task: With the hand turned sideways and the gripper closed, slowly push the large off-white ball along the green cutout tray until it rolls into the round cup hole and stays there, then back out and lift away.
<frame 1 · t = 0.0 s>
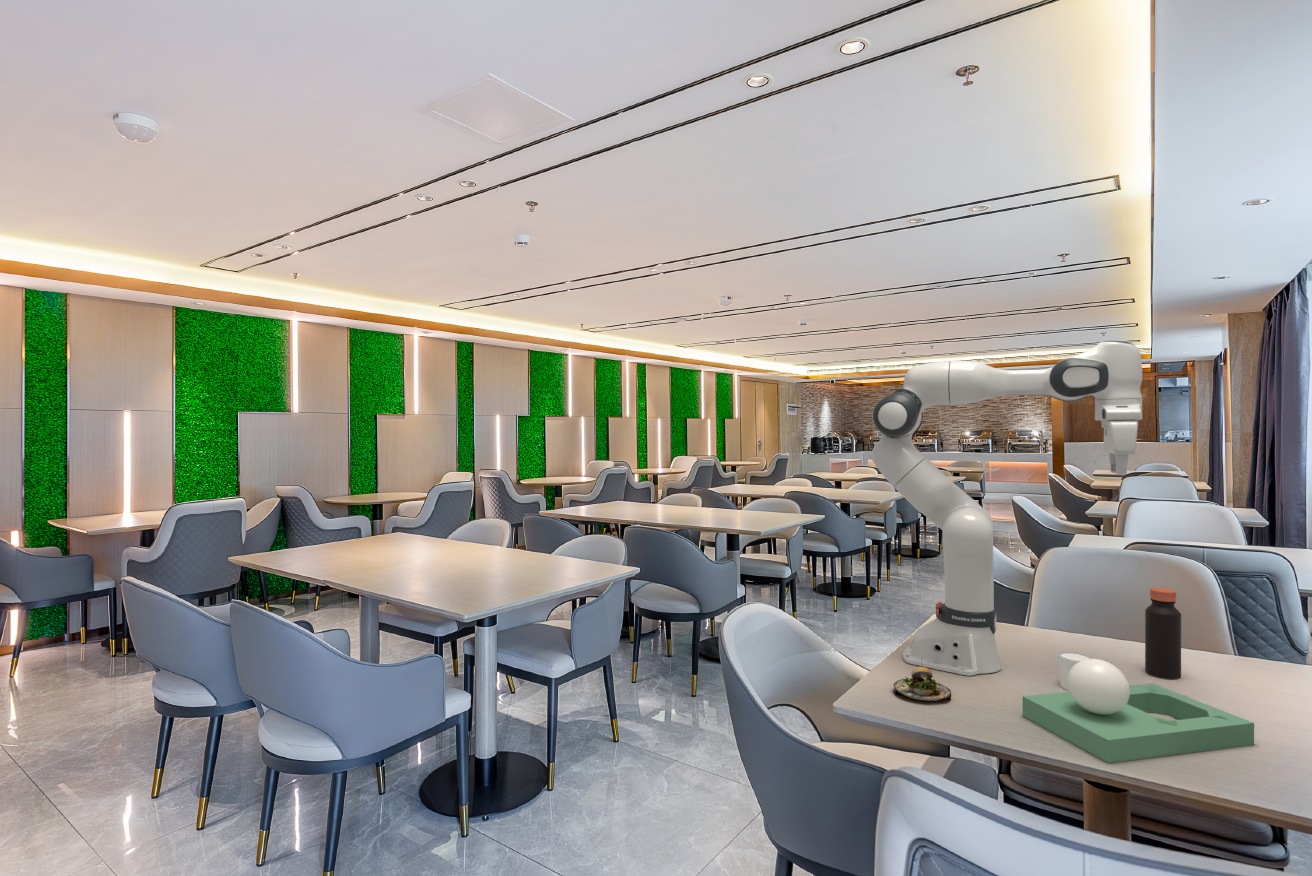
hand: (1118, 473, 152), 48 cm above the table, tool pointing down, fingers open, 8 cm apart
green cutout tray: (1132, 729, 130), on the table
bottle: (1162, 675, 159), on the table
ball: (1097, 686, 128), point 9 cm above the table, touching green cutout tray
burger: (922, 696, 147), on the table
white cup: (1075, 688, 151), on the table
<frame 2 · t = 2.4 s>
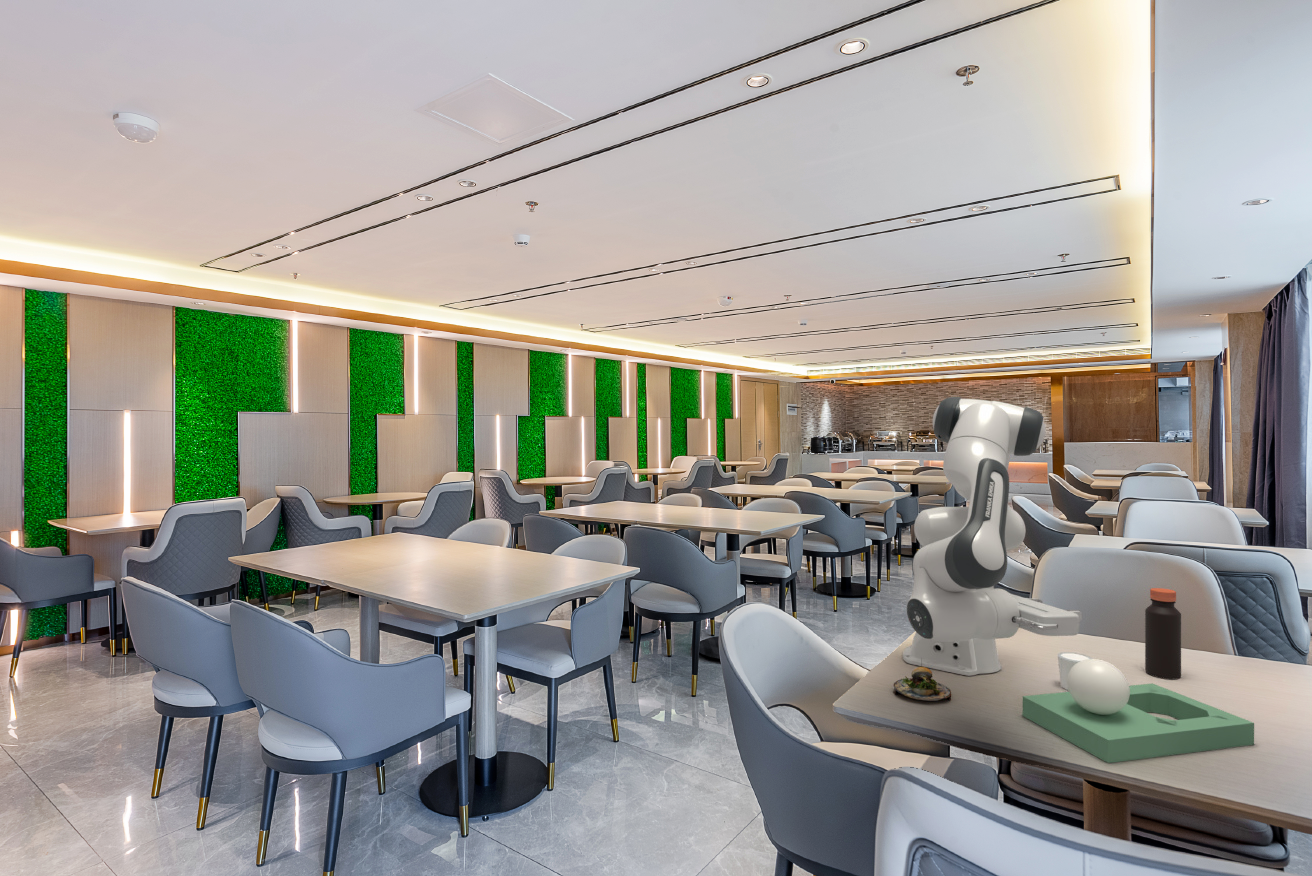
hand: (1058, 609, 126), 24 cm above the table, tool horizontal, fingers open, 8 cm apart
nothing on the table moved.
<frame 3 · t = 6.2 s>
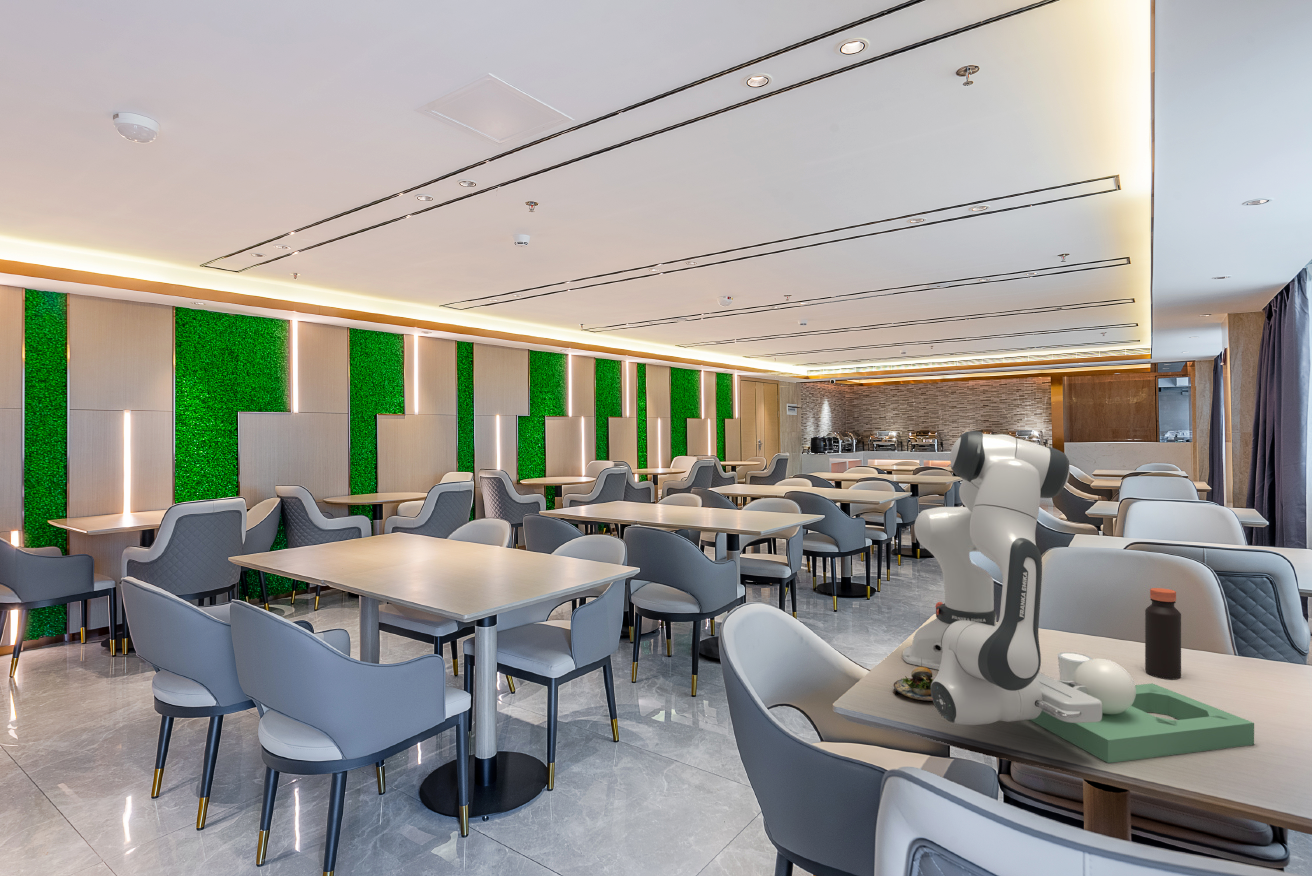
hand: (1080, 688, 127), 9 cm above the table, tool horizontal, fingers closed
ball: (1103, 686, 128), point 9 cm above the table, tilted 15°, touching green cutout tray
everything else where it was.
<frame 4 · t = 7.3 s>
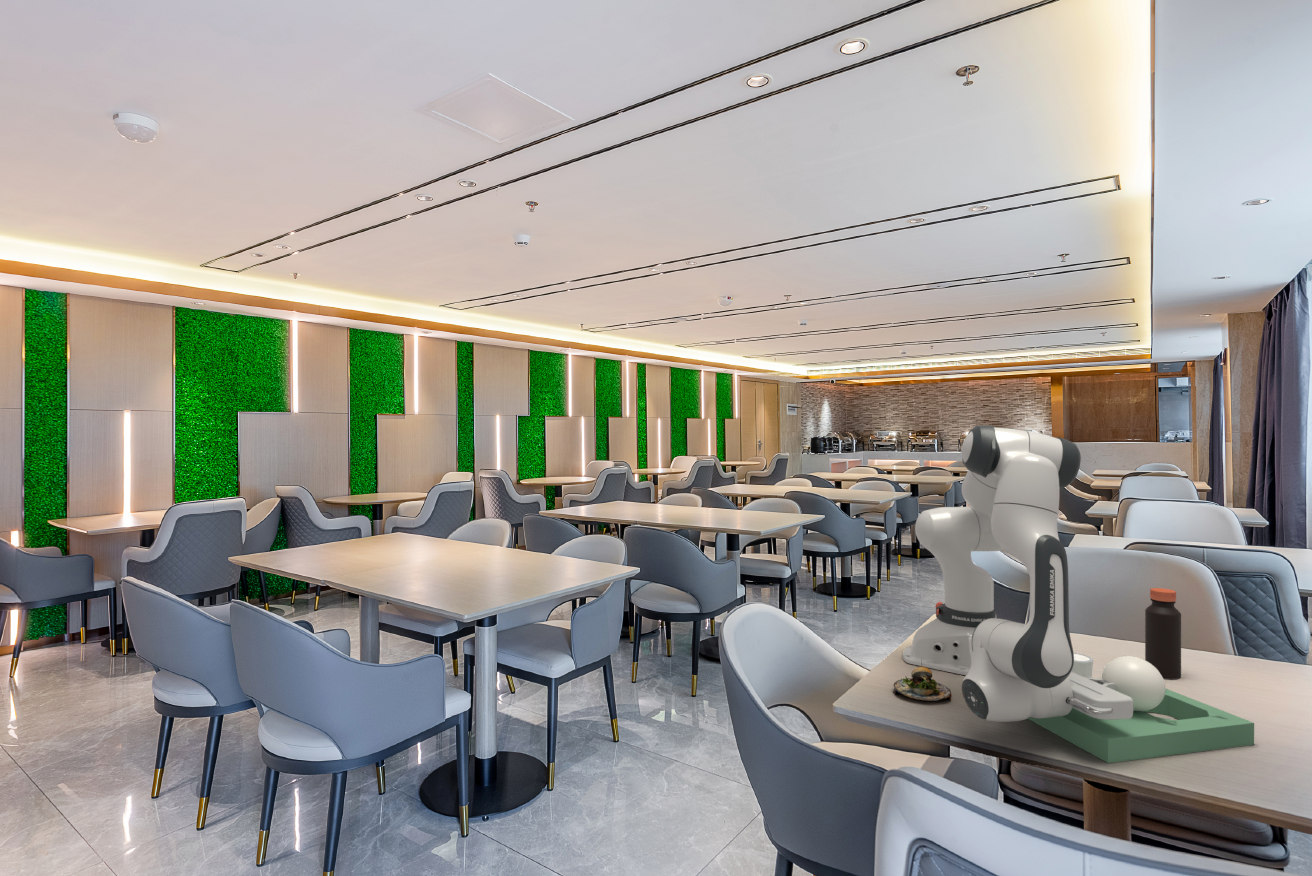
hand: (1109, 685, 129), 9 cm above the table, tool horizontal, fingers closed
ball: (1132, 683, 129), point 9 cm above the table, tilted 91°, touching green cutout tray
everything else where it was.
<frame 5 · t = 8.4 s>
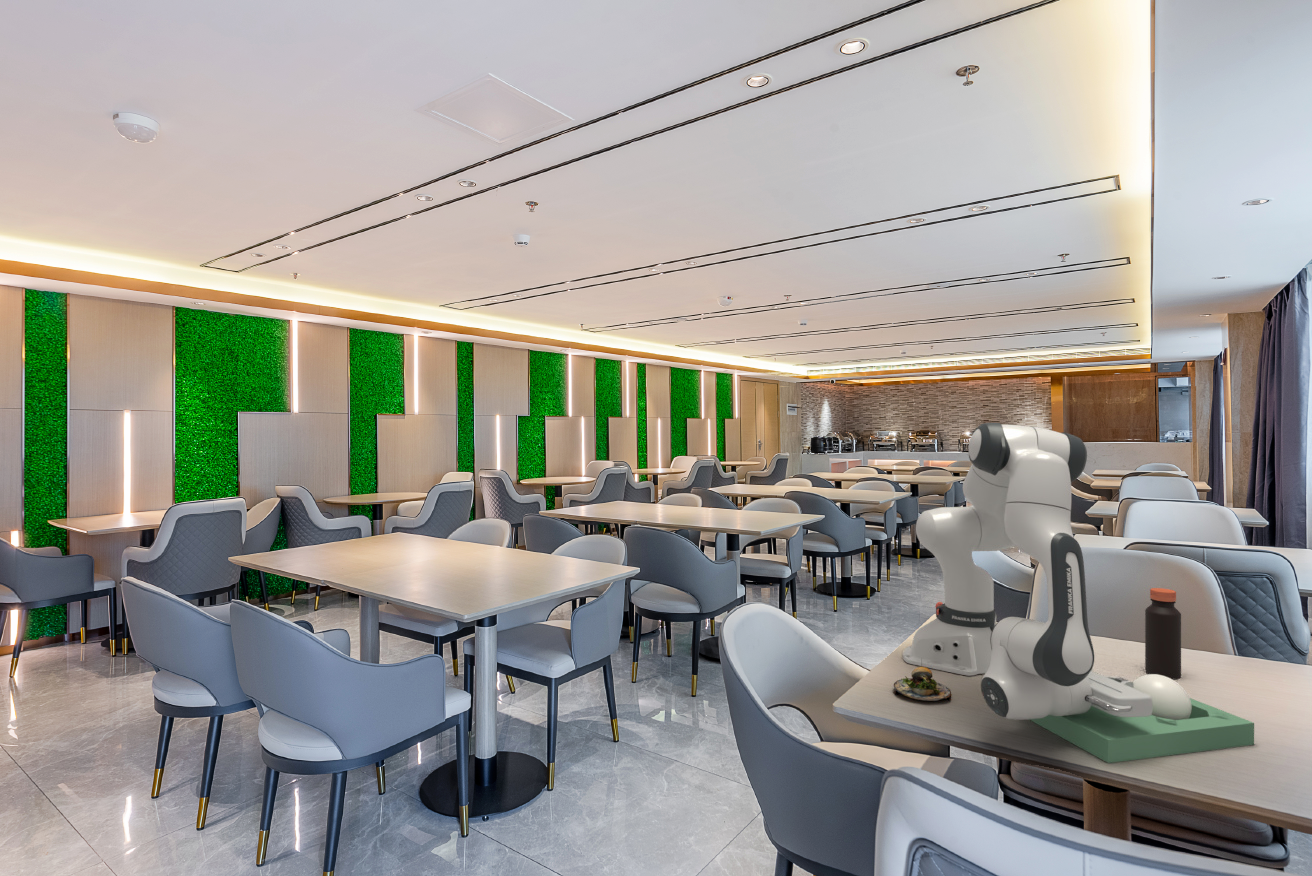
hand: (1126, 683, 129), 9 cm above the table, tool horizontal, fingers closed
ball: (1158, 701, 131), point 5 cm above the table, tilted 178°
everything else where it was.
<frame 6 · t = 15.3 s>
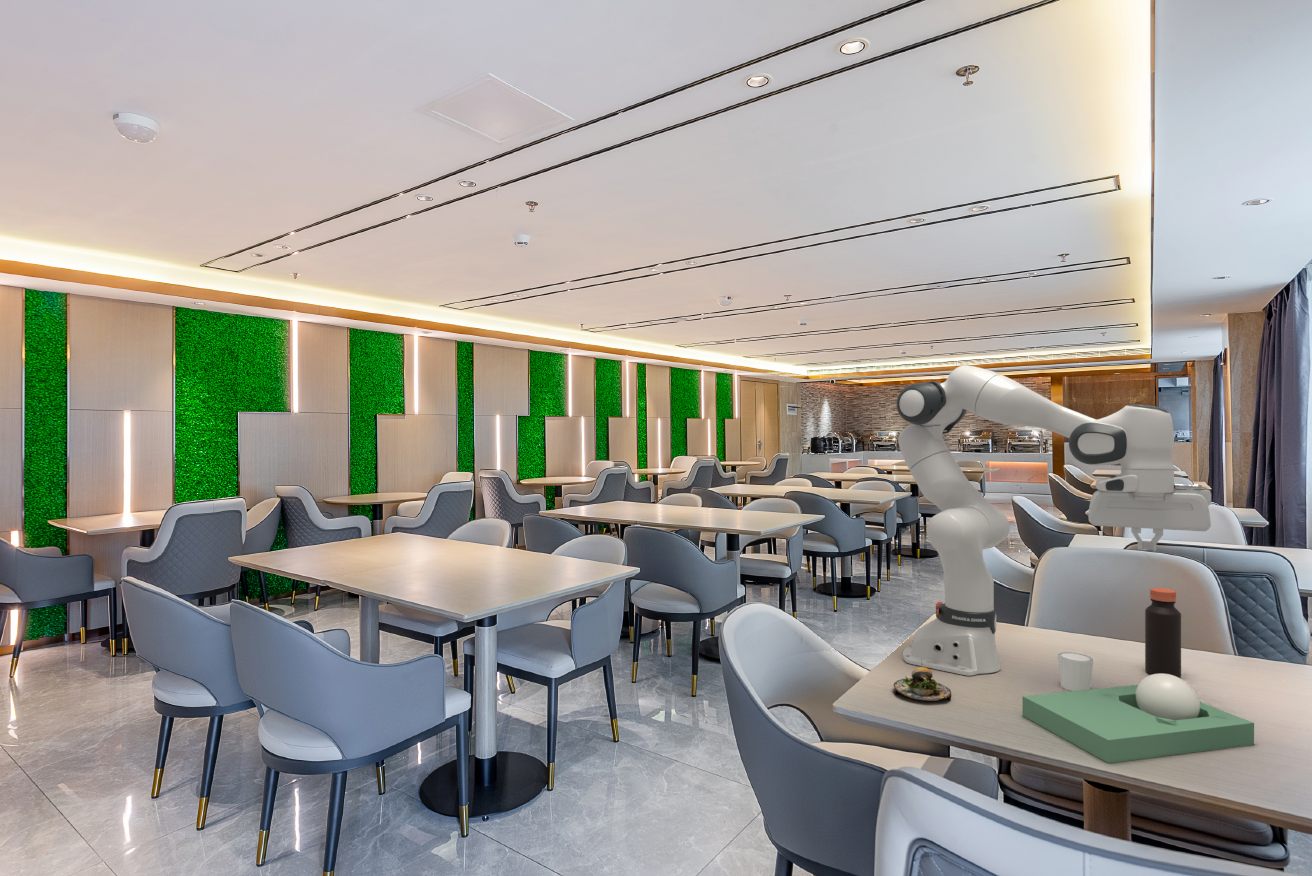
hand: (1146, 550, 138), 33 cm above the table, tool pointing down, fingers closed
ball: (1167, 700, 131), point 5 cm above the table, tilted 156°
everything else where it was.
at the end: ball 0.9 cm from the target spot on the green cutout tray, point 5.0 cm above the green cutout tray's base; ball touching table; the gripper is holding nothing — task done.
